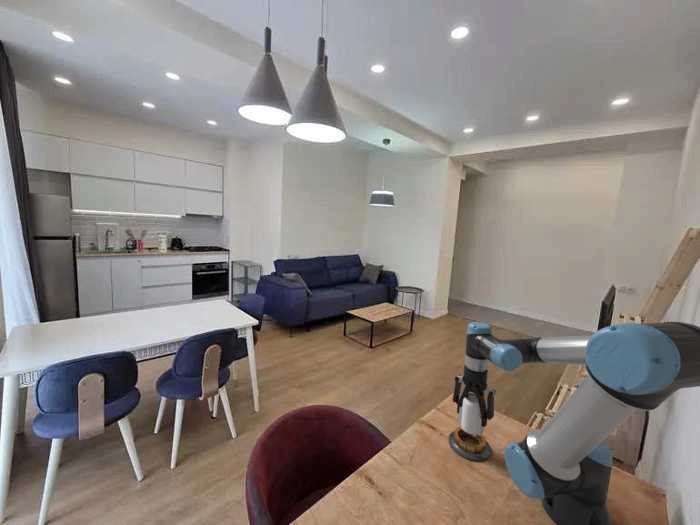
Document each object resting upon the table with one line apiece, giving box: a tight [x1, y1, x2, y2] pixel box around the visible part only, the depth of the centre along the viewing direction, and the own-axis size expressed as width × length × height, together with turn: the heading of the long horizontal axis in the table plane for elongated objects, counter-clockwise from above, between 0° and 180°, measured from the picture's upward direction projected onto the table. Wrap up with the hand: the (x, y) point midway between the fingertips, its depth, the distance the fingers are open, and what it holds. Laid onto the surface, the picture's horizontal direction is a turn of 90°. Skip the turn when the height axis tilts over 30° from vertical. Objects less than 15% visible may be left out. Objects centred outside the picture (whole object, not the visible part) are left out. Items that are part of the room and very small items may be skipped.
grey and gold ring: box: [448, 426, 492, 462], centre depth 104 cm, size 14×14×4 cm
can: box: [460, 392, 481, 435], centre depth 103 cm, size 6×6×12 cm
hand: (470, 427), depth 103 cm, fingers closed on can, 6 cm apart
